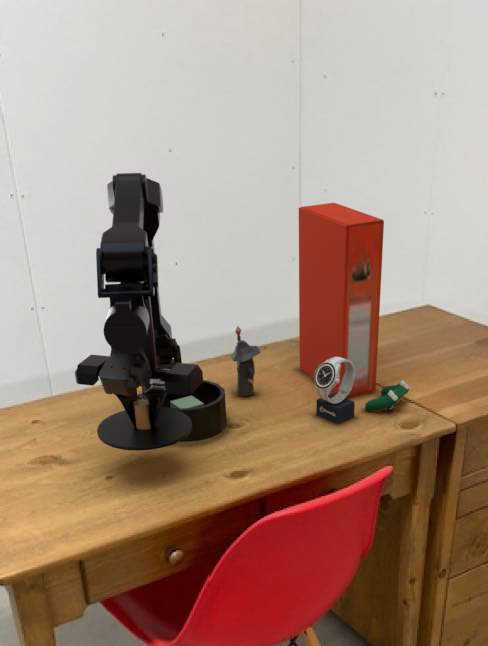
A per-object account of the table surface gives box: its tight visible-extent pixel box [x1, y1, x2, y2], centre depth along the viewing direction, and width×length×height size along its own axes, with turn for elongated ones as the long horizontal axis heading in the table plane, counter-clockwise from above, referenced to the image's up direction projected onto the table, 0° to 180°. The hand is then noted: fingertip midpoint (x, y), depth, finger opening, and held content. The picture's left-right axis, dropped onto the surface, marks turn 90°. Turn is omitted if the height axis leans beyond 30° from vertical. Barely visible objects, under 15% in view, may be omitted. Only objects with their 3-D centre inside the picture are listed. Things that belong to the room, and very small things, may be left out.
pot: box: [147, 379, 228, 443], centre depth 141 cm, size 14×14×6 cm
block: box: [170, 396, 204, 409], centre depth 142 cm, size 4×4×4 cm
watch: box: [313, 357, 356, 425], centre depth 143 cm, size 6×8×11 cm
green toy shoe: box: [364, 379, 410, 412], centre depth 149 cm, size 9×4×6 cm
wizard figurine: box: [230, 325, 261, 397], centre depth 153 cm, size 8×6×12 cm
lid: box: [96, 399, 192, 452], centre depth 124 cm, size 15×15×5 cm
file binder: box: [298, 202, 385, 399], centre depth 152 cm, size 8×17×32 cm, turn 26°
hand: (144, 425), depth 124 cm, fingers closed on lid, 3 cm apart
